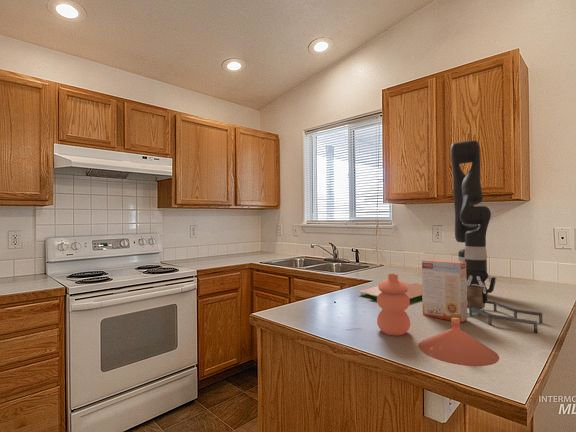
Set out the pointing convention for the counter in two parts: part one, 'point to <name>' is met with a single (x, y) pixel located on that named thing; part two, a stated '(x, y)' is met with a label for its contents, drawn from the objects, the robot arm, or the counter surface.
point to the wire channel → (506, 316)
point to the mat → (473, 312)
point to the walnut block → (475, 296)
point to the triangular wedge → (412, 292)
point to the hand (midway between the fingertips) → (476, 301)
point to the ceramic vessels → (441, 346)
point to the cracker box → (444, 289)
